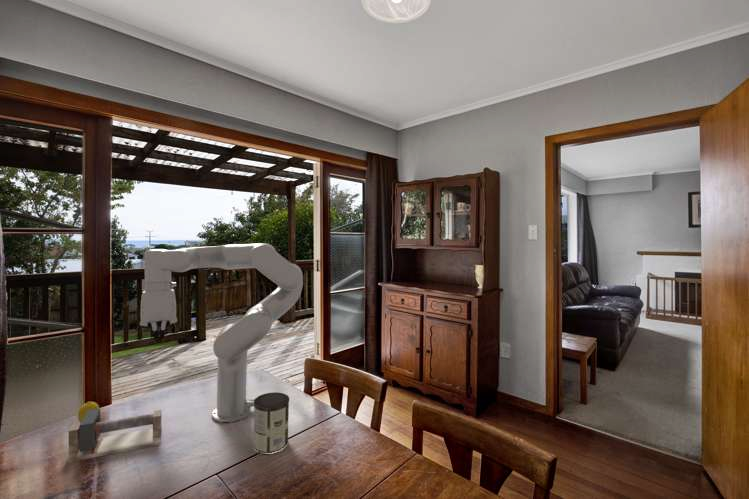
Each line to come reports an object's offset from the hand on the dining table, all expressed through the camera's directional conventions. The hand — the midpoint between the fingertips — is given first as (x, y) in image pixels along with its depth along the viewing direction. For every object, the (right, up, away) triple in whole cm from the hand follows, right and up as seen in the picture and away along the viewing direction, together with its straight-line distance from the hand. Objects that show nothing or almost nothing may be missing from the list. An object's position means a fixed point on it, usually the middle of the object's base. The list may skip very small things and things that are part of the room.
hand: (159, 341), depth 122 cm
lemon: (-20, -26, -4) cm, 33 cm away
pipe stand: (-4, -27, -13) cm, 31 cm away
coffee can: (+40, -29, -11) cm, 51 cm away
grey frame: (-10, -25, -16) cm, 32 cm away
